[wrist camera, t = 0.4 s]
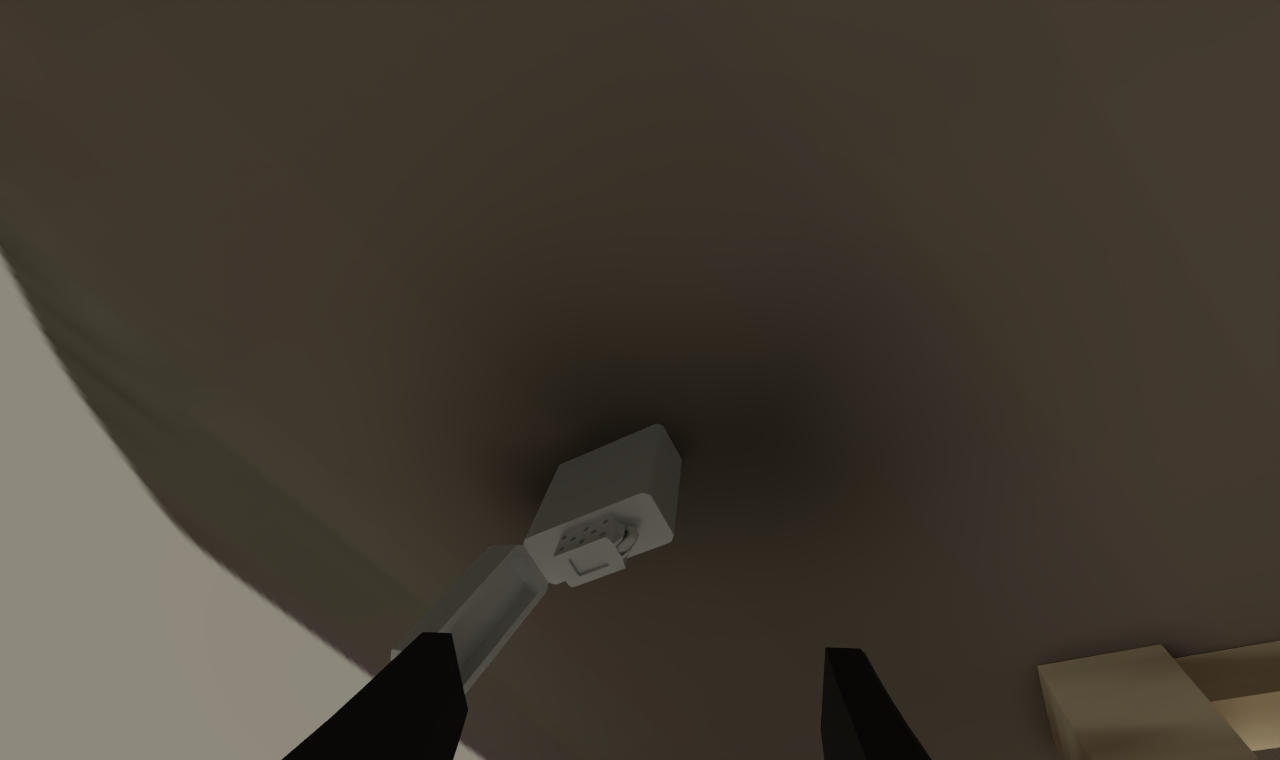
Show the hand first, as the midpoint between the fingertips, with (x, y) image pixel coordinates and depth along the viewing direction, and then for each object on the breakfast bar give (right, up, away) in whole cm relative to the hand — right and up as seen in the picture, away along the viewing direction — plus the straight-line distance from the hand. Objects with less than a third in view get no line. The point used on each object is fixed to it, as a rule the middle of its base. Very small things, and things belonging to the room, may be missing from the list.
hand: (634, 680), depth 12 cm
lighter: (-2, +2, +10) cm, 11 cm away
